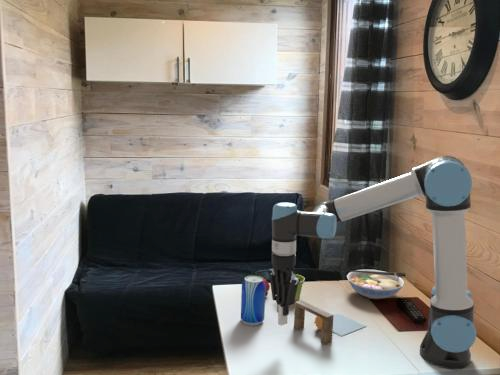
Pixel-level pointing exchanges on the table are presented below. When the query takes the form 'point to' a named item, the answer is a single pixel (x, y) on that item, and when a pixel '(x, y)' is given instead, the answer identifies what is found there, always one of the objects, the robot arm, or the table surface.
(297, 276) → the plant pot
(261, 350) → the table surface
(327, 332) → the bridge
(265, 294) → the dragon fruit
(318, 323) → the ball
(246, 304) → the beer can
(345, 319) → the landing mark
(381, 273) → the ramen bowl
